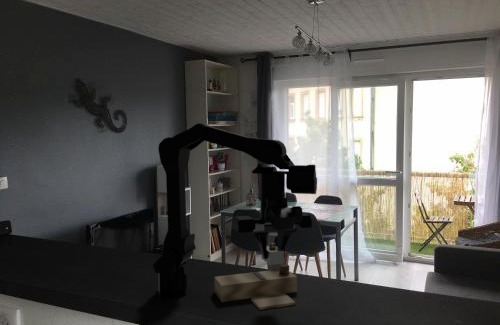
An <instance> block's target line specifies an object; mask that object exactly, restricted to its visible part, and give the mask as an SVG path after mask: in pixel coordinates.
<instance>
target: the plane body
mask: <svg viewBox="0 0 500 325" xmlns="http://www.w3.org/2000/svg"><path fill="white" fill-rule="evenodd" d="M297 292H298V276H297V275H295V273H292V271H290V264H287V263H286V264H282V265H279V269H278V270H270V271H268V270H263V271H262V270H261V271H254V272H245V273H236V274H235V273H234V274H228V275H226V274H225V275H218V276H214V294H216V296H217V298H218V299H219V300H220V302H221V303H226V302H231V301H239V300H246V299H247V300H248V299H251V298H255V297H263V296H270V295H278V294H291V293H297Z"/></svg>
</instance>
